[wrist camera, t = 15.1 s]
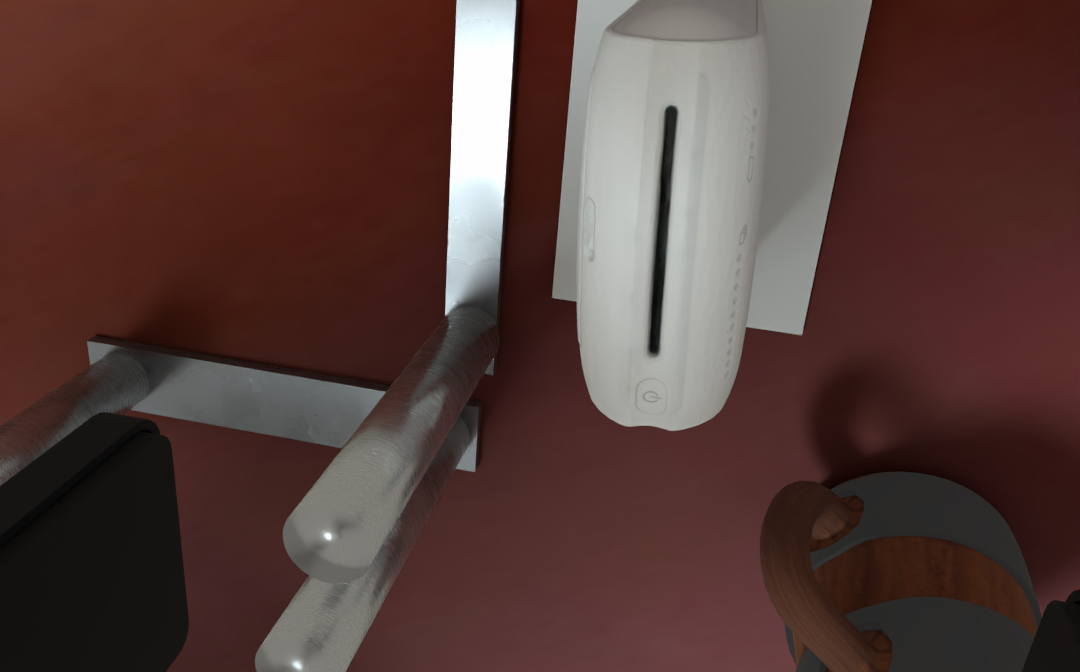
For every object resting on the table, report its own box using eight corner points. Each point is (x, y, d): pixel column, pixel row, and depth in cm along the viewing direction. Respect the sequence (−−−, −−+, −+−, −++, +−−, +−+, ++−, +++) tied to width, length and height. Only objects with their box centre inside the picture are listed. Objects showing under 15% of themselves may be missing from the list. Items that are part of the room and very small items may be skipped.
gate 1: (478, 464, 39) (347, 724, 26) (104, 397, 42) (-177, 604, 29) (482, 400, 38) (346, 641, 25) (96, 335, 40) (-202, 523, 28)
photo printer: (742, 291, 33) (735, 478, 22) (620, 280, 34) (555, 455, 23) (777, -22, 29) (791, 15, 18) (637, -27, 30) (568, 7, 19)
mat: (801, 330, 34) (802, 335, 33) (554, 294, 35) (551, 297, 35) (884, -64, 28) (885, -64, 28) (587, -89, 30) (585, -90, 29)
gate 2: (502, 369, 37) (372, 601, 24) (442, 359, 37) (284, 583, 25) (540, -221, 29) (374, -327, 16) (464, -226, 29) (242, -334, 17)
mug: (864, 349, 34) (914, 545, 23) (1063, 578, 36) (1191, 854, 25) (678, 474, 37) (647, 692, 27) (867, 676, 39) (908, 953, 29)
